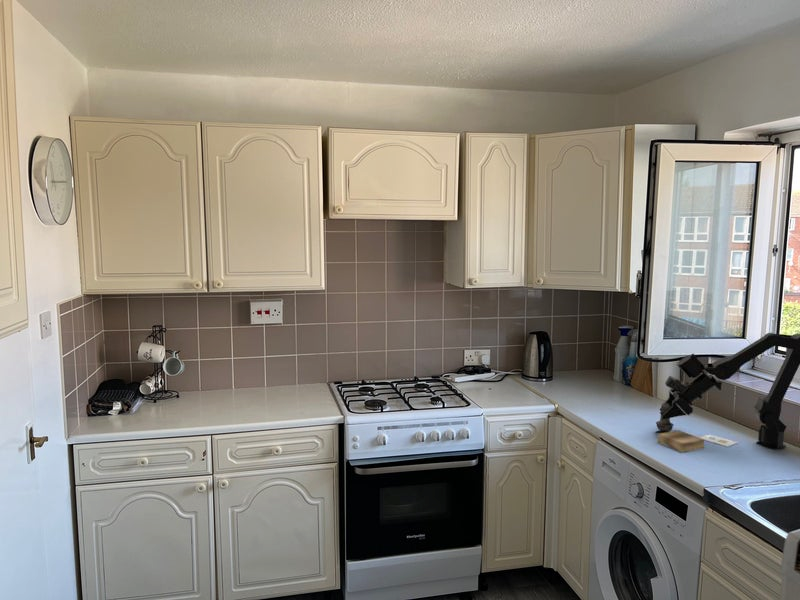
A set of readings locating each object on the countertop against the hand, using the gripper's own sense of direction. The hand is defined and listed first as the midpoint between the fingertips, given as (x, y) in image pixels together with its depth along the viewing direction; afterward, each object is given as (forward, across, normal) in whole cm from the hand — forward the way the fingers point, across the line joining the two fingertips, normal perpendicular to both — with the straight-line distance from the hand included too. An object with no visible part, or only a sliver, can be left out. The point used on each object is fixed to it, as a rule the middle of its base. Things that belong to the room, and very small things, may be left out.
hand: (661, 414), depth 207 cm
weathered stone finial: (+4, 0, +6) cm, 7 cm away
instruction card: (-8, +2, +18) cm, 20 cm away
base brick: (+1, +11, +9) cm, 14 cm away
